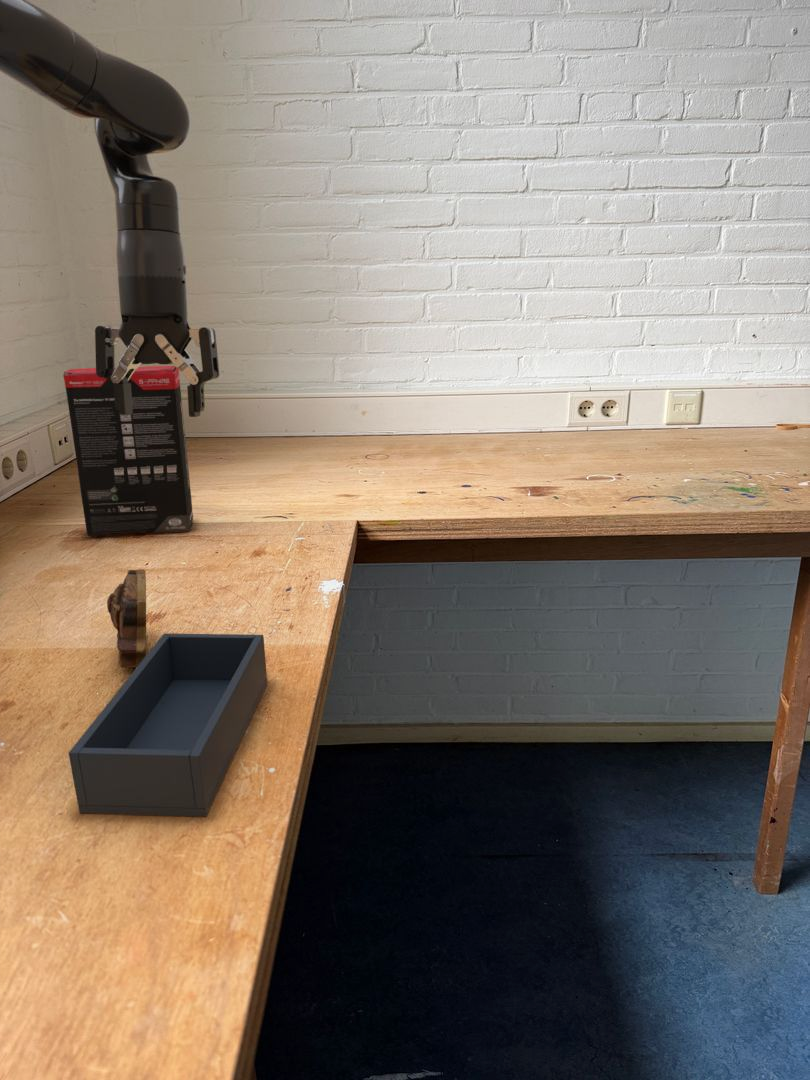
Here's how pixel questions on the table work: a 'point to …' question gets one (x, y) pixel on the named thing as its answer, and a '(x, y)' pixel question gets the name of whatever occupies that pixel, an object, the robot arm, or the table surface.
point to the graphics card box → (131, 453)
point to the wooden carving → (130, 618)
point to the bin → (171, 727)
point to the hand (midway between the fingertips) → (160, 415)
